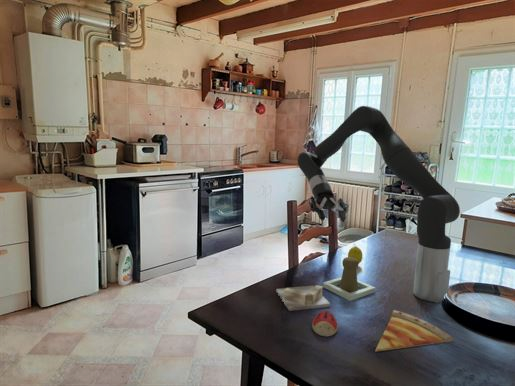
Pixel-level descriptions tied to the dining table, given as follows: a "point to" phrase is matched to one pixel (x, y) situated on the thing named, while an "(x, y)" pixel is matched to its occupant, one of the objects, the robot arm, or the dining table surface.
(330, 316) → the ladybug figurine
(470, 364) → the dining table surface
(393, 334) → the pizza slice
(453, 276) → the dining table surface
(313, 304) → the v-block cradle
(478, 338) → the dining table surface
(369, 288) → the block
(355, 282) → the olive tall tapered post
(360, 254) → the lemon
